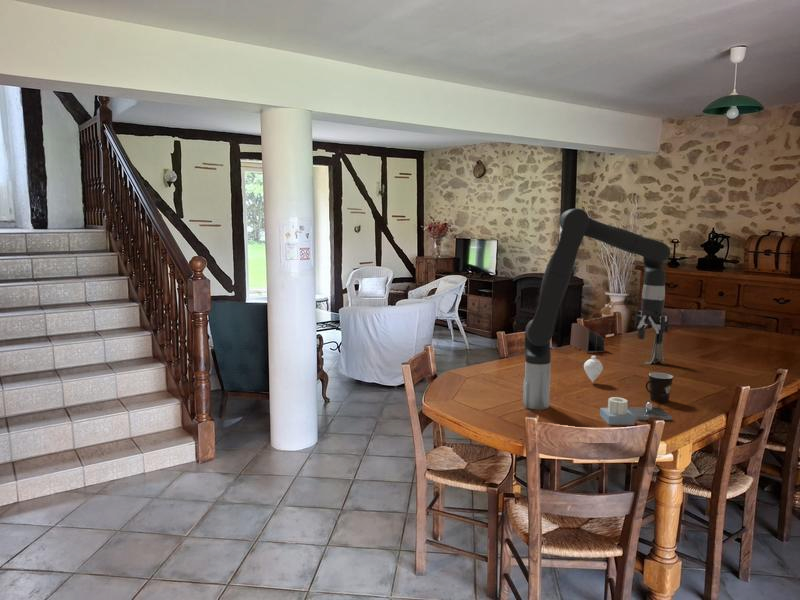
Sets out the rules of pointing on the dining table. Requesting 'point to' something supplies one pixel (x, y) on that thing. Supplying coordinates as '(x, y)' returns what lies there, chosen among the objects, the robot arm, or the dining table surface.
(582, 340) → the letter holder
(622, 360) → the dining table surface
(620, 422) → the stand block
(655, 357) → the wizard figurine
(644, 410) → the hub
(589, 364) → the spinning top
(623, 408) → the collar ring
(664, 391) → the coffee mug
